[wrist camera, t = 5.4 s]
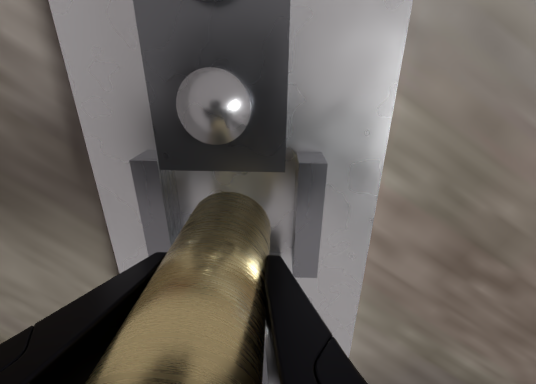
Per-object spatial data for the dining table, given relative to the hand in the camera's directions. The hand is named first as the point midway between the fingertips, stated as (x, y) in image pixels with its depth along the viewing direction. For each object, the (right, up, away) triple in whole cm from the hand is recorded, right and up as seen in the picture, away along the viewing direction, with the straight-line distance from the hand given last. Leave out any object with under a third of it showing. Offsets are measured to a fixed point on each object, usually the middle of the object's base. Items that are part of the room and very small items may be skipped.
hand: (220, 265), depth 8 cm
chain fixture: (0, +2, +4) cm, 5 cm away
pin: (0, +1, +2) cm, 2 cm away
